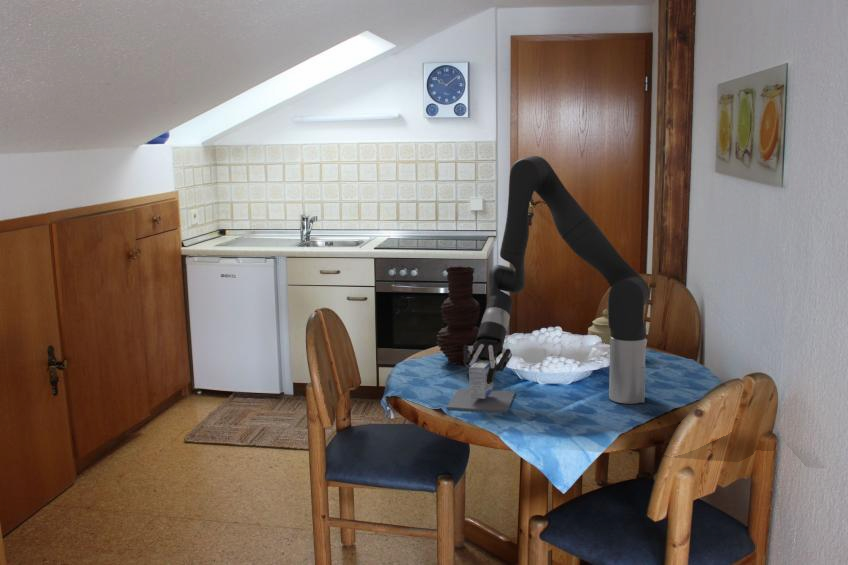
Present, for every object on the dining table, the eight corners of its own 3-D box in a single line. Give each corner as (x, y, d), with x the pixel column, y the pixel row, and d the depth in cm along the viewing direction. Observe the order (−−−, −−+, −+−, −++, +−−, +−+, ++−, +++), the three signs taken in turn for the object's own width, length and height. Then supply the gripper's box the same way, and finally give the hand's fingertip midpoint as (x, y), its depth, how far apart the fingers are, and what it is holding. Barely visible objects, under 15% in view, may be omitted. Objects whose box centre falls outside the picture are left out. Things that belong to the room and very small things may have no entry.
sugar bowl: (627, 348, 270) (628, 304, 267) (639, 357, 259) (640, 311, 257) (583, 350, 269) (584, 306, 266) (593, 359, 258) (594, 313, 255)
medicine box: (485, 399, 216) (484, 368, 214) (469, 398, 218) (468, 366, 216) (493, 390, 223) (493, 360, 221) (478, 389, 225) (478, 358, 223)
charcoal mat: (515, 393, 226) (515, 391, 226) (506, 412, 211) (506, 410, 211) (458, 390, 230) (458, 388, 230) (446, 409, 215) (446, 407, 215)
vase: (461, 371, 248) (460, 274, 243) (427, 361, 259) (425, 268, 254) (495, 361, 258) (495, 268, 253) (461, 352, 270) (460, 262, 264)
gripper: (466, 318, 226) (450, 372, 218) (515, 322, 221) (501, 377, 212) (473, 332, 232) (458, 385, 223) (521, 336, 226) (507, 391, 218)
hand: (479, 381), depth 218 cm, fingers closed on medicine box, 4 cm apart
